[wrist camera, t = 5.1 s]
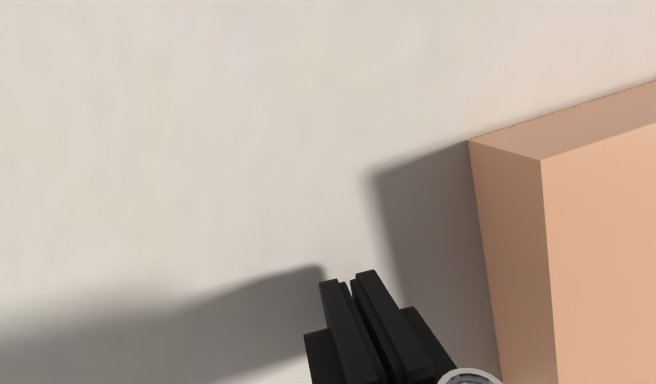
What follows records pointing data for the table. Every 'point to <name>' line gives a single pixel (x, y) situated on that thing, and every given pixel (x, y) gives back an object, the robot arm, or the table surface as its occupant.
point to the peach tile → (572, 241)
